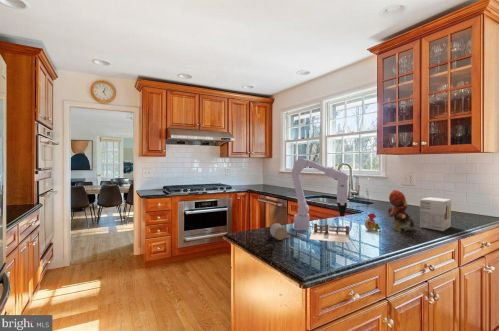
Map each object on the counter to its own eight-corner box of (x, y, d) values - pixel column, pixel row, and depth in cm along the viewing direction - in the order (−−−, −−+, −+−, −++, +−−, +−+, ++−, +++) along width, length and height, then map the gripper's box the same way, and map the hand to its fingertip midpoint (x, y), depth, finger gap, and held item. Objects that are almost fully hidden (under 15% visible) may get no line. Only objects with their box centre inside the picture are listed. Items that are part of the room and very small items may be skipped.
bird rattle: (373, 235, 159) (383, 228, 163) (367, 219, 158) (378, 212, 161) (365, 233, 165) (375, 226, 168) (359, 217, 163) (369, 210, 167)
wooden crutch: (329, 233, 155) (329, 225, 155) (329, 232, 156) (329, 224, 156) (349, 234, 151) (349, 226, 151) (349, 233, 153) (349, 226, 153)
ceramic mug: (274, 241, 142) (274, 226, 141) (269, 237, 149) (269, 223, 149) (293, 240, 144) (293, 225, 144) (287, 236, 152) (287, 222, 152)
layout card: (309, 240, 143) (309, 238, 143) (312, 230, 164) (312, 229, 164) (349, 243, 137) (349, 242, 137) (347, 232, 158) (347, 231, 158)
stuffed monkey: (409, 231, 154) (398, 189, 159) (384, 232, 169) (375, 193, 174) (425, 227, 161) (414, 186, 165) (399, 228, 176) (390, 190, 180)
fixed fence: (313, 232, 157) (313, 224, 157) (314, 231, 159) (314, 223, 159) (328, 233, 155) (328, 225, 155) (328, 232, 156) (328, 224, 156)
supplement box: (444, 231, 161) (444, 201, 161) (419, 227, 171) (419, 199, 171) (451, 226, 173) (451, 198, 172) (427, 223, 183) (428, 196, 182)
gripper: (349, 194, 151) (349, 218, 151) (348, 191, 165) (348, 213, 165) (336, 193, 153) (336, 217, 153) (336, 191, 167) (336, 213, 167)
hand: (342, 215), depth 159 cm, fingers open, 5 cm apart
